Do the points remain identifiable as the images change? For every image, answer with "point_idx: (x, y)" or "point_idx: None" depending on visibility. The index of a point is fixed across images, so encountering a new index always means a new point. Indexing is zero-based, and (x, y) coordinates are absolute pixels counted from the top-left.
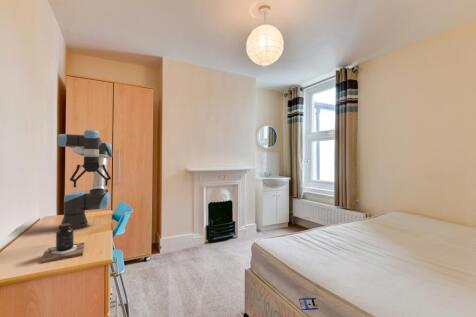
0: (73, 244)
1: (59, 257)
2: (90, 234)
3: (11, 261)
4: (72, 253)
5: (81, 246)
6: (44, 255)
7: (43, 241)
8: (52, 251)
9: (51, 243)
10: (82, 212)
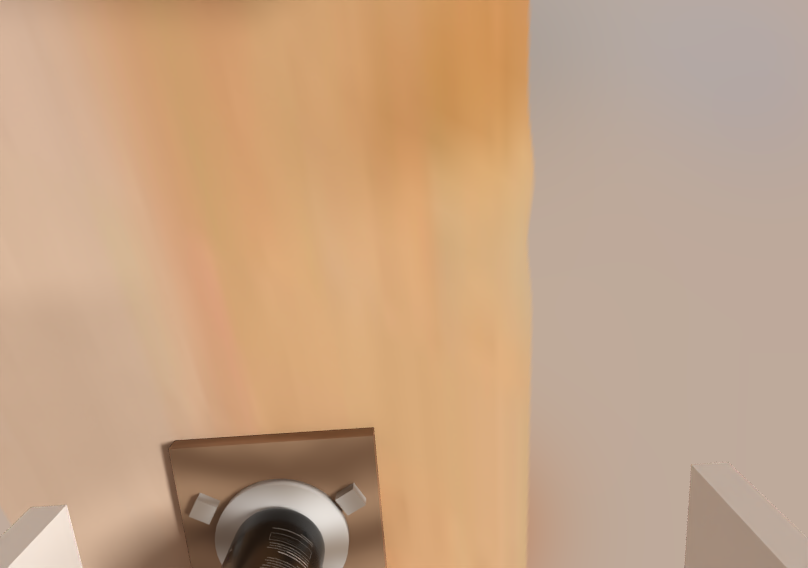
0: (323, 552)
1: None
2: (386, 188)
3: None
4: None
5: (367, 509)
6: (192, 565)
7: (63, 216)
8: (221, 555)
9: (143, 297)
10: None
